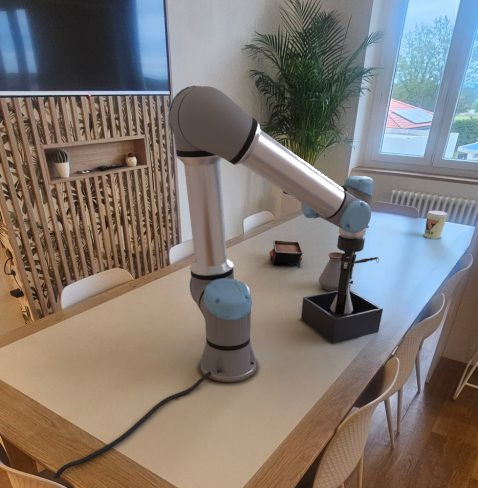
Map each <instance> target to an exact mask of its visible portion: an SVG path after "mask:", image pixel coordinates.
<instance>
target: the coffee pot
mask: <svg viewBox="0 0 478 488" xmlns="http://www.w3.org/2000/svg"><path fill="white" fill-rule="evenodd" d="M343 253H344V252H338V251H336V252H335V251H334V252H333V251H332V252H329V253H328V257H329V260H328V262H327V263H326V265H325V267H324V269H323V270H322V272H321V273H320V276H319V278H318V283H319V285H320V286H321V287H322V289H324V290H325V291H328V292H332V291H337V290H338V285H339V278H340V271H341V270H340V267H341V257H342V255H343ZM374 260H375V262H376V264H379V263H380V261H378V260H380V258H379V256H374V257H370V258H369V257H368V258H367V257H366V258H361V259H358V260H355V263H354V265H356V264H362V263H367V262H373V261H374Z"/></svg>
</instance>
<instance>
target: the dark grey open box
mask: <svg viewBox="0 0 478 488" xmlns="http://www.w3.org/2000/svg"><path fill="white" fill-rule="evenodd" d="M337 291H338V290H337ZM337 291H328V292H323V293H322V292H321V293H318V294H313V295H308V296H303V297H302V304H301V314H300V315H301V316H300V320H301V322H303V323H305V324H306V325H307V326H309V327H310V329H311V328H312V330H313V331H315V332H317V333H318V334H320V335H321V336H322V337H323V338H324V339H326V340H327V341H328V342H330V344H336V343H341V342H344V341H348V340H353V339H357V338H360V337H363V336H369V335H371V334H376V333H379V330H380V326H381V322H382V321H381V320H382V317H383V311H384V308H383V307H381V306H380V305H377V304H376V303H374V302H372V301H370V300H368V299H367V298H365V297H364V296H362V295H360V294H358V293H356V292H354V291H353V290H351V289H350V291H349V293H350V298H351V302H352V307H353V311H352V312H351V313H350V314H344V315H343V314H336V313H335V312H332V310H331V309H330V307H331V305H332V303H333V301H334V299H335V297H336V295H337V294H335V292H337Z"/></svg>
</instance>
